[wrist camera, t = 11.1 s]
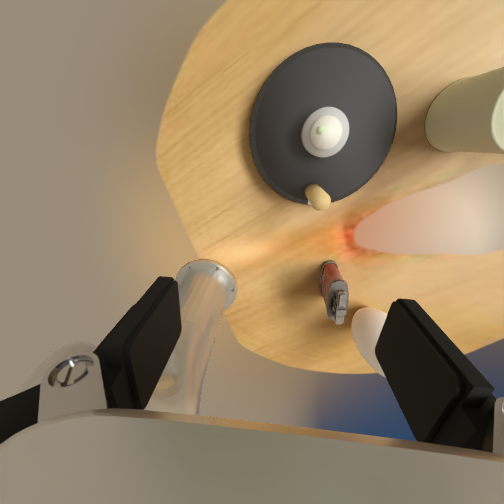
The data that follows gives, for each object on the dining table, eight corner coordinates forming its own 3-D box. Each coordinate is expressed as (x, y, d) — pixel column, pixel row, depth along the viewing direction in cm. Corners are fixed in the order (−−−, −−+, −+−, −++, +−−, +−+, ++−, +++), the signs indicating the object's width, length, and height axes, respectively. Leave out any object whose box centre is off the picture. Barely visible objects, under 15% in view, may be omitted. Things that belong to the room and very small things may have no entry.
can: (479, 58, 31) (592, 13, 20) (509, 117, 33) (624, 105, 22) (412, 116, 34) (477, 104, 23) (443, 165, 36) (516, 175, 25)
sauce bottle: (341, 326, 51) (374, 414, 34) (347, 296, 47) (387, 377, 31) (379, 328, 50) (430, 418, 34) (388, 298, 47) (449, 381, 31)
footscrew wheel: (415, 140, 34) (456, 140, 26) (305, 221, 40) (313, 240, 33) (342, 10, 29) (367, -37, 21) (229, 127, 35) (217, 123, 27)
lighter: (335, 295, 48) (350, 331, 39) (318, 295, 48) (328, 331, 39) (339, 259, 44) (356, 290, 35) (320, 260, 45) (332, 290, 36)
